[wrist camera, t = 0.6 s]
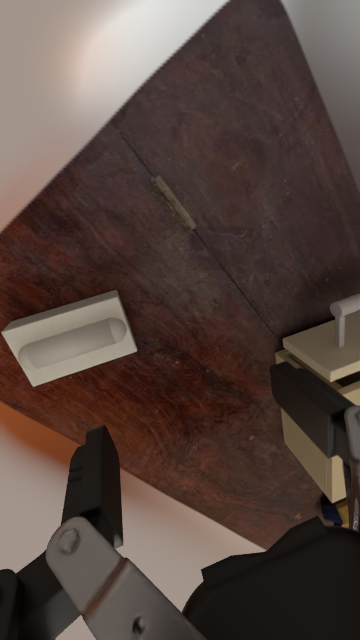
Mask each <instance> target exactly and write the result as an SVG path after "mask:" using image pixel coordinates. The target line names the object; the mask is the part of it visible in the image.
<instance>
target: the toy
mask: <svg viewBox="0 0 360 640" xmlns="http://www.w3.org/2000/svg"><path fill="white" fill-rule="evenodd" d="M321 508H322V511H321V512H322V513H323V517H324V519H325V520H326V521H330V522H334V525H333V526H340V527H345V528H347V527H349V514H348V505H347V499H343V500H340V501H338V502H336V503H332V504H327V505H322V506H321Z"/></svg>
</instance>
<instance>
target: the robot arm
mask: <svg viewBox="0 0 360 640" xmlns="http://www.w3.org/2000/svg"><path fill="white" fill-rule="evenodd" d="M270 376H271V386H272V393H273V396H274V399H275V400H276V402H277V403H278V405H279V406H280V407H281V408H282V409H283V410H284V411H285V412H286V413H287V414H288V416H289V417H290V418H291V419H292V420H293V421H294V422H295V423H296V424H297V425H298V426H299V428H300V429H301V430H302V431H303V432H304V433H305V434H306V435H307V436H308V437H309V438H310V440H311V441H312V442H313V443H314V444H315V445H316V446H317V447H318V448H319V449H320V450H321V452H322V453H323V454H324V455H325V456H326V457H327V458H328V459H330V458H332V457H334V456H337V455H338V456H339V457H340V458H341V459H342V466H343V474H344V482H345V489H346V497H347V505H348V514H349V528H345V527H340V526H324V524H323V523H322V521H321V520H320V519H319V517H318V516H317V517H314V518H312V519H310V520H308V521H306V522H303V523H301V524H299V525H297V526H295V527H293V528H290V529H289V530H288V531H287V532H286V533H285V534H284V535H283V536H282V537H281V538H280V539H279V540H278V541H277V542H276V543H275V544H274V545H273V546H272V547H271V548H270V549H268V550H267V551H265V552H260V553H251V554H242V555H234V556H229V557H228V558H225V559H223V560H221V561H219V562H216V563H214V564H212V565H210V566H208V567H205V568H203V569H201V571H202V576H203V579H204V581H203V582H202V583H201V584H200V585H199V586H198V587H197V588H196V589H195V591H194V592H193V593H192V595H191V596H190V598H189V599H188V601H187V602H186V604H185V607H184V609H183V611H182V612H180V611H179V610H178V609H177V608H176V607H175V606H174V605H173V604H172V603H171V602H170V601H169V600H168V599H167V598H166V597H165V596H164V594H163V593H162V592H161V591H160V590H159V589H158V588H157V587H156V586H155V585H154V584H153V583H152V582H151V581H150V580H149V579H148V578H147V577H146V576H145V575H144V574H143V573H142V572H141V571H140V570H139V569H138V568H137V567H136V565H135V564H134V563H132V562H131V561H130V560H129V559H128V558H124V557H122V556H121V555H120V554H119V553H118V552H117V550H116V548H118V547H120V546H122V545H123V527H122V506H121V486H120V464H119V457H118V453H117V450H116V447H115V445H114V443H113V441H112V438H111V436H110V434H109V432H108V429H107V427H106V426H105V425H102V426H99V427H96V428H94V429H91V430H88V431H87V434H86V444H85V445H83V446H80V447H78V448H77V449H76V451H75V453H74V455H73V457H72V459H71V462H70V469H69V472H70V473H69V476H68V484H67V489H66V495H65V502H64V509H63V515H62V521H61V526H60V527H59V528H58V529H57V530H56V531H55V533H54V534H53V536H52V537H51V539H50V541H49V543H48V546H47V549H46V550H45V551H44V552H43V553H42V554H41V555H40V556H39V557H37V558H36V559H35V560H33V561H32V562H31V563H29V564H28V565H27V566H25V567H24V568H23V569H22V570H20V571H19V572H17V573H16V574H15V572H13V571H12V570H10V569H3V570H0V640H55V638H56V637H57V636H58V635H59V634H60V633H62V632H63V631H64V630H65V629H66V628H67V627H68V626H69V625H70V624H71V623H73V622H74V620H76V619H77V618H78V617H79V616H80V615H82V617H83V620H84V621H85V623H86V625H87V626H88V628H89V629H90V631H91V632H92V634H93V635H94V637H95V638H96V640H360V405H357V406H356V405H355V404H354V403H352V402H351V401H350V400H348V399H347V398H346V397H344V396H343V395H342V394H340V393H339V392H338V391H336V390H335V389H334V388H333V387H331V386H330V385H328V384H327V383H326V382H325V381H323V380H321V379H320V378H319V377H318V376H317V375H315V374H314V373H313V372H311V371H308V370H306V369H303V368H297V369H296V368H295V367H294V366H292V365H291V364H290V363H289V362H287V361H284V362H281V363H278V364H275V365H272V366H271V367H270Z"/></svg>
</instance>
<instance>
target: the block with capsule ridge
mask: <svg viewBox="0 0 360 640" xmlns="http://www.w3.org/2000/svg"><path fill="white" fill-rule="evenodd" d="M1 333H2V335H3V337H4V338H5V340H6V342H7V343H8V345H9V347H10V348H11V350H12V352H13V354H14V355H15V357H16V359H17V360H18V362H19V364H20V365H21V367H22V369H23V371H24V372H25V374H26V376H27V377H28V379H29V381H30V382H31V384H32V386H37V385H40V384H43V383H45V382H48V381H51V380H54V379H57V378H60V377H63V376H66V375H69V374H72V373H75V372H78V371H81V370H84V369H87V368H90V367H92V366H95V365H98V364H101V363H104V362H107V361H110V360H113V359H116V358H119V357H122V356H125V355H128V354H131V353H134V352H137V348H136V343H135V339H134V336H133V334H132V331H131V328H130V325H129V322H128V320H127V317H126V314H125V311H124V308H123V305H122V303H121V300H120V297H119V294H118V291H117V290H114V291H110V292H107V293H104V294H100V295H97V296H94V297H91V298H87V299H84V300H81V301H77V302H74V303H71V304H68V305H64V306H61V307H58V308H54V309H51V310H48V311H45V312H41V313H38V314H35V315H31V316H28V317H25V318H22V319H18V320H15V321H12V322H10V323H9V324H8V325H7V327H6V328H5V329H4V330H3V331H2V332H1Z"/></svg>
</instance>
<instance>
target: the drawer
mask: <svg viewBox="0 0 360 640" xmlns="http://www.w3.org/2000/svg"><path fill="white" fill-rule="evenodd" d="M359 310H360V293H359V294H356V295H353V296H350V297H348V298H345V299H342V300H339V301H336V302H333V303H332V304H331V305H330V311H331V313H332V315H333V316H335V320H333V321H330V322H327V323H324V324H321V325H319V326H316V327H313V328H310V329H308V330H305V331H302V332H299V333H297V334H294V335H291V336H288V337H286V338H283V347H284V348H285V349H287V350H288V351H289V352H291V353H292V354H293V355H292V356H291V359H292V360H293V361H295V362H296V363H297V364H299V365H300V366H301V367H302V368H304V369H306V370H308V371H311V372H313V373H314V374H315V375H317V376H318V377H319V378H320V379H321V380H323V381H325V382H326V383H327V384H328V385H330V386H331V387H333V388H334V389H335V390H338V389H340V388H343V387H345V386H348V385H350V384H353V383H355V382H358V381H360V311H359ZM356 311H357V312H356ZM353 312H355V313H353ZM350 313H352V314H350ZM348 314H349V315H348ZM345 315H346V316H345Z"/></svg>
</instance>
